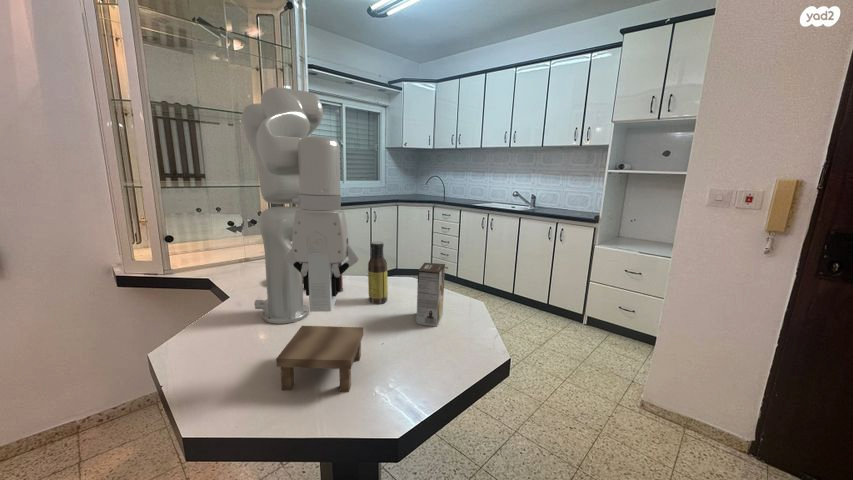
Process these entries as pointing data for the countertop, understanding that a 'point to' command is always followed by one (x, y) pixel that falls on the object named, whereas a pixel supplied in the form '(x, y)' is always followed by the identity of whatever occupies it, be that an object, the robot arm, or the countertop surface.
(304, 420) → the countertop surface
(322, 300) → the skincare box
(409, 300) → the countertop surface
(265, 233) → the robot arm
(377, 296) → the sauce bottle
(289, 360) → the walnut stool
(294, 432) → the countertop surface
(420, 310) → the coffee box
